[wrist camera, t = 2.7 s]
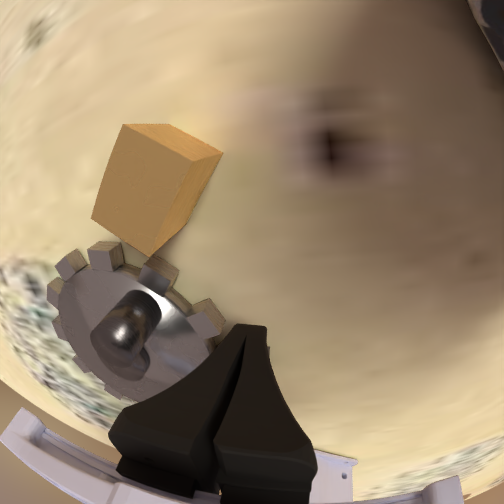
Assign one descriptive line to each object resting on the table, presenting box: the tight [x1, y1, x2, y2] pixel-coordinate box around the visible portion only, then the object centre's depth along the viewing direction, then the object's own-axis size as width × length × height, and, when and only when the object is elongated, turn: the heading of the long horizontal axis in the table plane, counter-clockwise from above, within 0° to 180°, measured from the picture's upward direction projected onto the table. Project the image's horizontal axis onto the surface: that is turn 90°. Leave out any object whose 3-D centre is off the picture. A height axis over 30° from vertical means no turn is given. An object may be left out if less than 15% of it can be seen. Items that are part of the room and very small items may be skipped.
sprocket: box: [47, 241, 226, 402], centre depth 15 cm, size 14×14×5 cm
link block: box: [91, 124, 223, 257], centre depth 11 cm, size 4×3×4 cm
